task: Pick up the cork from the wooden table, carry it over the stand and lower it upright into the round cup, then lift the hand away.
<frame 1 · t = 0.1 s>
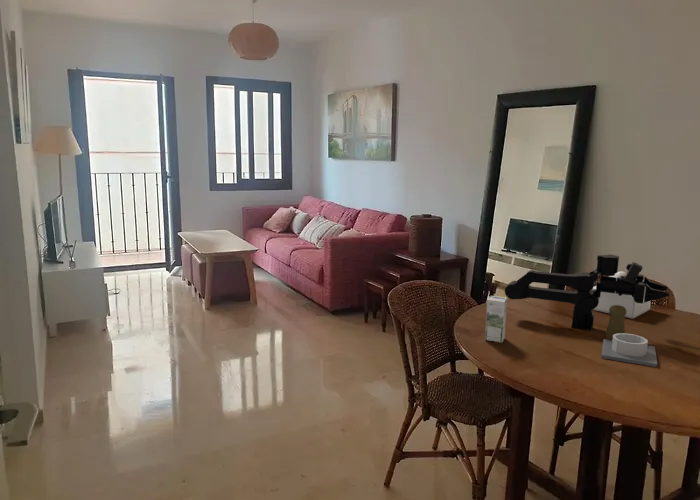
hand: (667, 291, 180), 17 cm above the table, tool horizontal, fingers open, 9 cm apart
syrup box: (494, 340, 181), on the table
cork: (614, 337, 184), on the table
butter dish: (618, 310, 216), on the table
cup stand: (628, 353, 169), on the table
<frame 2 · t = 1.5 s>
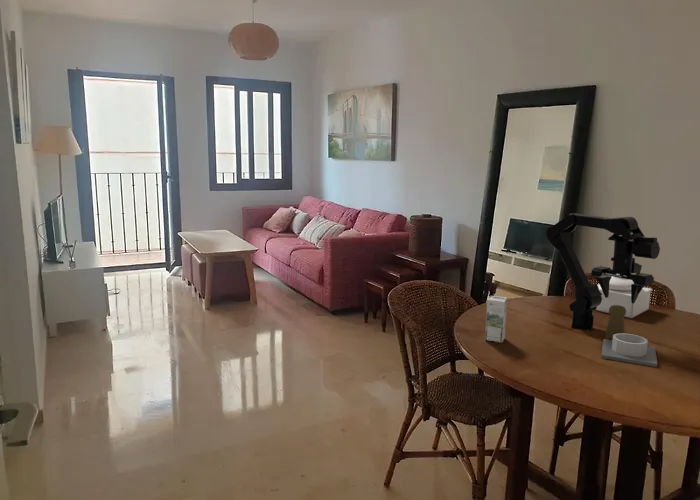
hand: (619, 300, 182), 13 cm above the table, tool pointing down, fingers open, 9 cm apart
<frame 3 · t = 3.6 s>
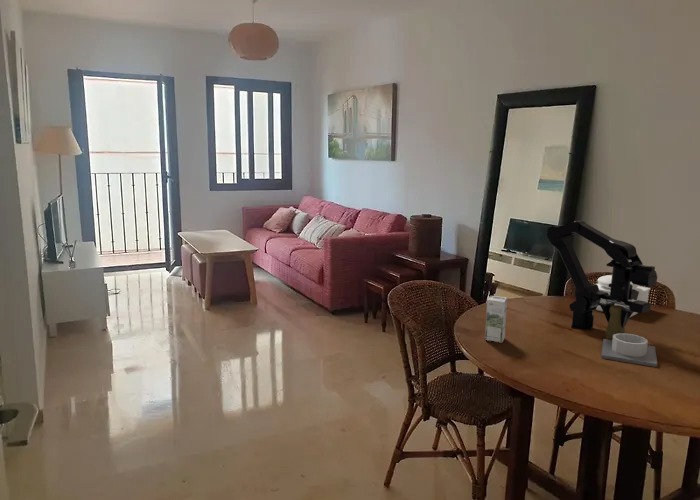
hand: (616, 325, 183), 4 cm above the table, tool pointing down, fingers closed on cork, 4 cm apart
cork: (614, 337, 184), on the table, touching gripper
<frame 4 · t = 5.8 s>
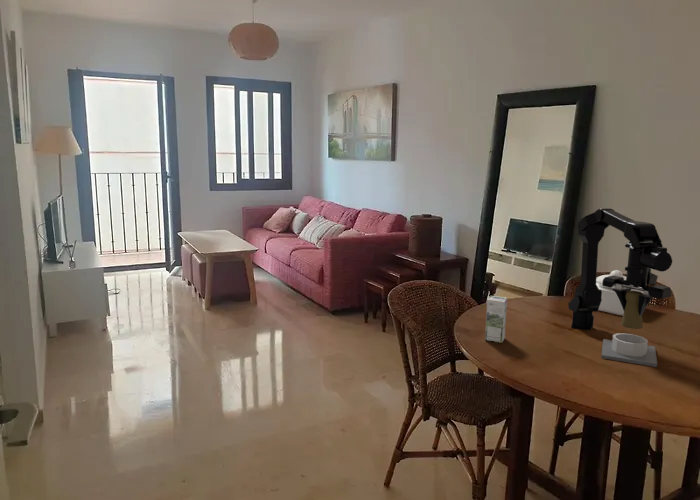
hand: (632, 313, 167), 13 cm above the table, tool pointing down, fingers closed on cork, 4 cm apart
cork: (631, 326, 168), point 9 cm above the table, touching gripper
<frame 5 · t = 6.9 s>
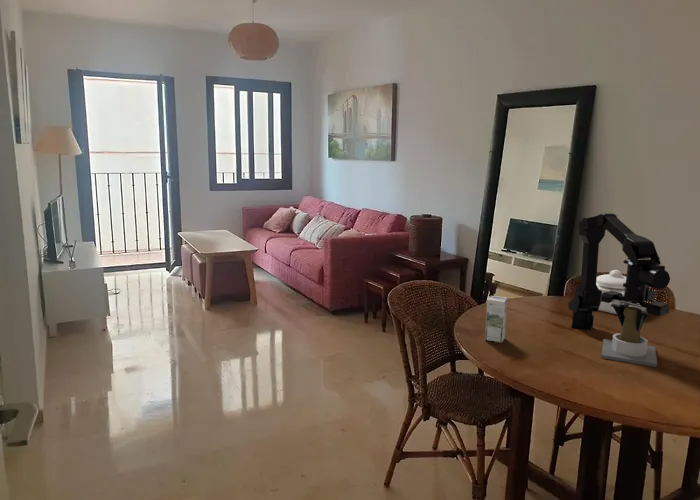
hand: (630, 329, 168), 8 cm above the table, tool pointing down, fingers closed on cork, 4 cm apart
cork: (629, 341, 169), point 4 cm above the table, touching gripper
when the fingers open (6 cm above the table, at t = 8.0 s): cork drops 1 cm, resting on cup stand.
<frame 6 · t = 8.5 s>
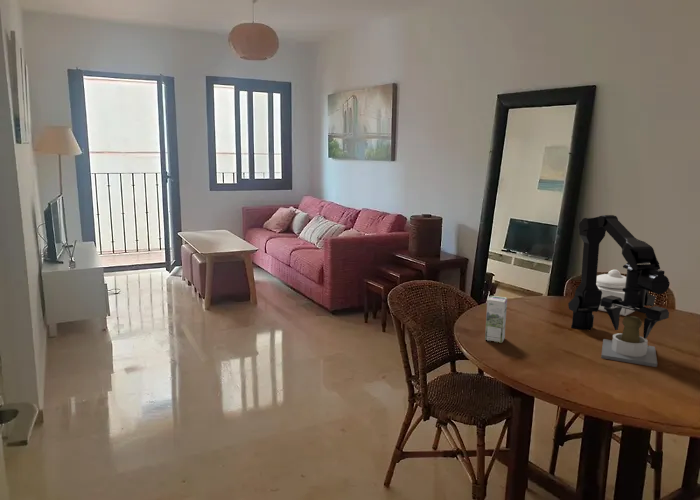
hand: (630, 333, 168), 6 cm above the table, tool pointing down, fingers open, 9 cm apart
cork: (629, 351, 169), point 1 cm above the table, touching cup stand
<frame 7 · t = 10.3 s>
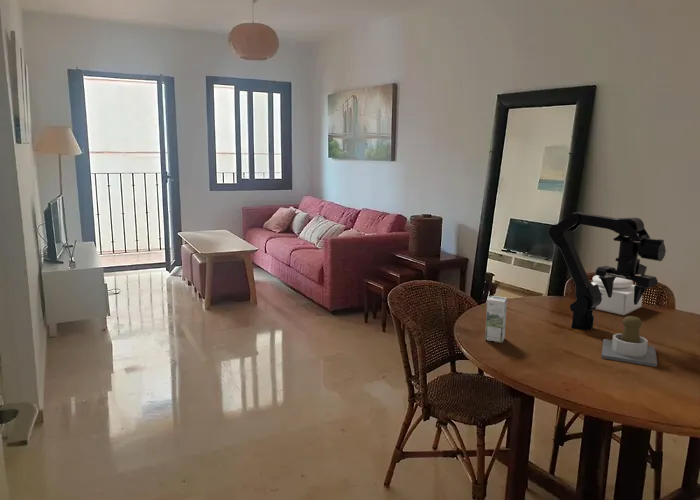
hand: (622, 300, 182), 13 cm above the table, tool pointing down, fingers open, 9 cm apart
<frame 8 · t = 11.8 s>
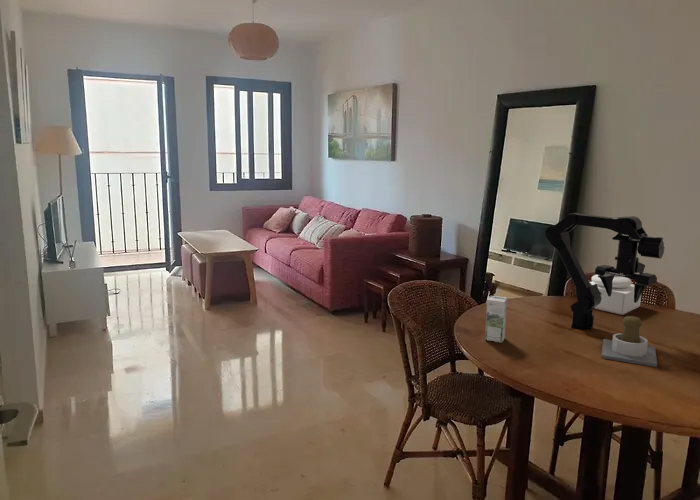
hand: (622, 299, 183), 13 cm above the table, tool pointing down, fingers open, 9 cm apart
at the end: cork 0.1 cm off-centre on the cup stand, point 0.8 cm above the cup stand's base; cork tilted 0°; the gripper is holding nothing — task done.
